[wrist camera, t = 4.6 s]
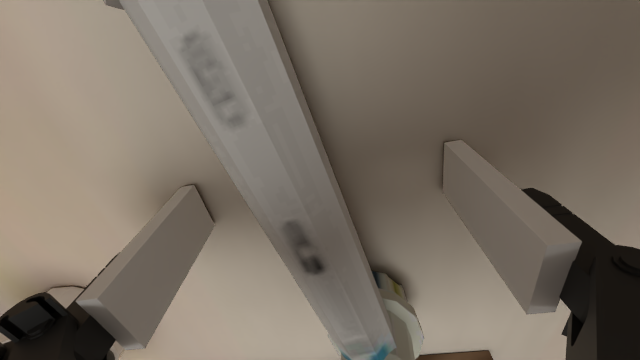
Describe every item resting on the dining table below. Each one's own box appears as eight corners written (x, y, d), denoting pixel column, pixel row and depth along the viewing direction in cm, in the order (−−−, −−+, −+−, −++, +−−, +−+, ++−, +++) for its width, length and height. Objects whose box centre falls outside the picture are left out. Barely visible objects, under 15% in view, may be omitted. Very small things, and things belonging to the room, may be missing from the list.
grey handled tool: (116, -428, 4) (461, 453, 12) (254, -126, 10) (421, 324, 18) (-88, -203, 5) (352, 463, 13) (148, -55, 11) (350, 338, 19)
